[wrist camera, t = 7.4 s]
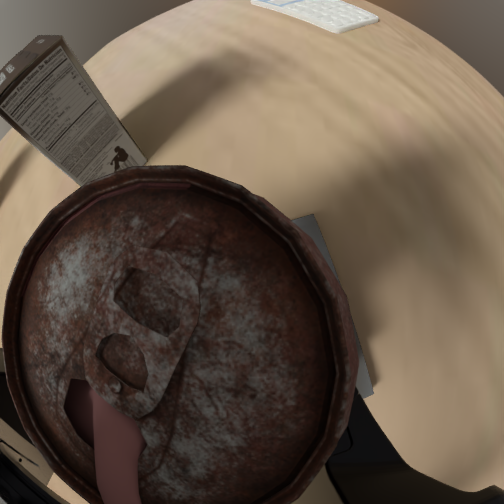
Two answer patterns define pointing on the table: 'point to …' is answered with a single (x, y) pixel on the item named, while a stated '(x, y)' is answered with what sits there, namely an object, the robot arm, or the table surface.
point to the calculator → (323, 13)
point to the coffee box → (64, 112)
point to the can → (178, 343)
